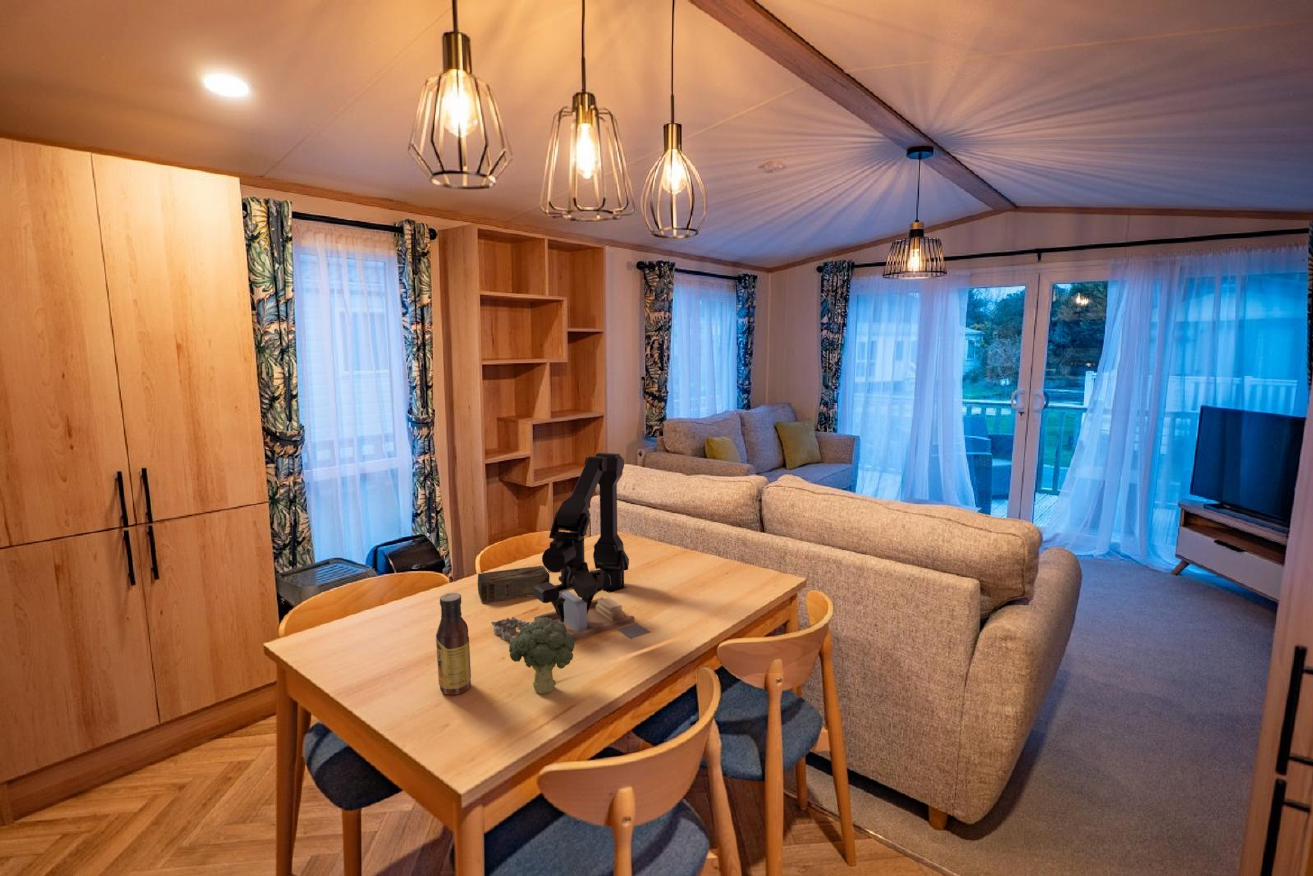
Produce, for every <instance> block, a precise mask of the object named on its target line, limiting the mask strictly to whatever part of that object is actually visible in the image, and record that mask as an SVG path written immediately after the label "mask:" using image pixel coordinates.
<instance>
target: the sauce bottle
mask: <svg viewBox="0 0 1313 876" xmlns="http://www.w3.org/2000/svg"><path fill="white" fill-rule="evenodd" d="M439 605H440V611H441V612H440V613H441V616H440V618H441V619H440V622H439V624H438V627H437V631H436V633H435V645H436V658H437V659H436V661H437V675H438V677H437V678H438V685H439V689H440V691H441V693H442V694H443V695H448V696H453V695H454V696H456V695H459V694H462V693H465V692H466V691H467V690H468V689H469V688H470V686H471V683H472V681H471V679H472V678H471V677H472V671H471V670H472V669H471V667H472V666H471V655H470V654H471V652H470V651H471V650H470V648H471V647H470V637H469V625H468V624H467V622H466V621H465V620H464V618H463V617H462V606H461V605H462V595H461V593H458V592H449V593H445V594H443V595H441V596H440V597H439Z"/></svg>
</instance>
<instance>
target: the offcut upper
mask: <svg viewBox="0 0 1313 876" xmlns="http://www.w3.org/2000/svg"><path fill="white" fill-rule="evenodd" d="M622 606H623V605H622V603H620V602H618V601H616V600H614V599H613V598H611V597H606V598H604V599H602V600H598V607H600V608H601V609H603V610H605V611H606V612H608V613H609V614H612V613H615V612H619V611H623V607H622Z"/></svg>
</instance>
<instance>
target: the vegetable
mask: <svg viewBox="0 0 1313 876" xmlns="http://www.w3.org/2000/svg"><path fill="white" fill-rule="evenodd" d="M531 622H532V623H531ZM531 622H530V623H531V624H530V625H525V626H523V627H522V628H521V630H519V632H518V634H517V636H518V637H517V638H515V639H514V640H513V641H512V642H511V644H510V643H509V647H508V649H509V650H508V652H509V657H510V659H511V661H513V662H520V661H521V660H522V658H523V661H524V663H525V666H526V667H528V668H531V667H532V669H533V670H534V671H535V673H534V678H533V679H534V680H533V682H532V684H533V689H534V692H535V693H537V694H539V695H540V694H550V693H552V691H554V688H555V686H556V681H555V679H554V676H553V670H554V668H555V667H557V668H558V669H564V668H565V667H566V666H569V665H570V663H571V661H573V659H574V653H573V652H574V649H575V641H574V638H573V636H572V635H571V634H570V633H568V632H567V630H566V627H565V625H564V624H563V623H562V622H557V621H556V620H552V619H550V618H547V617H542V618H540V619H538V620H537V621H534V620H533V621H531Z"/></svg>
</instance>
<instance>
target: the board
mask: <svg viewBox="0 0 1313 876" xmlns="http://www.w3.org/2000/svg"><path fill="white" fill-rule="evenodd" d="M562 597H563V598H564V599H566V600H565V602H564V622H565V623H567V624H568V625H569V626H571V627H572V628H573V629H575V630H576V631H578V632H582V631H585V630H587V603H586V602H585V601H583V600H582V598H580V597H578V595H575V594H574V593H572V592H570V590H568V591H565V592H562Z"/></svg>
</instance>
